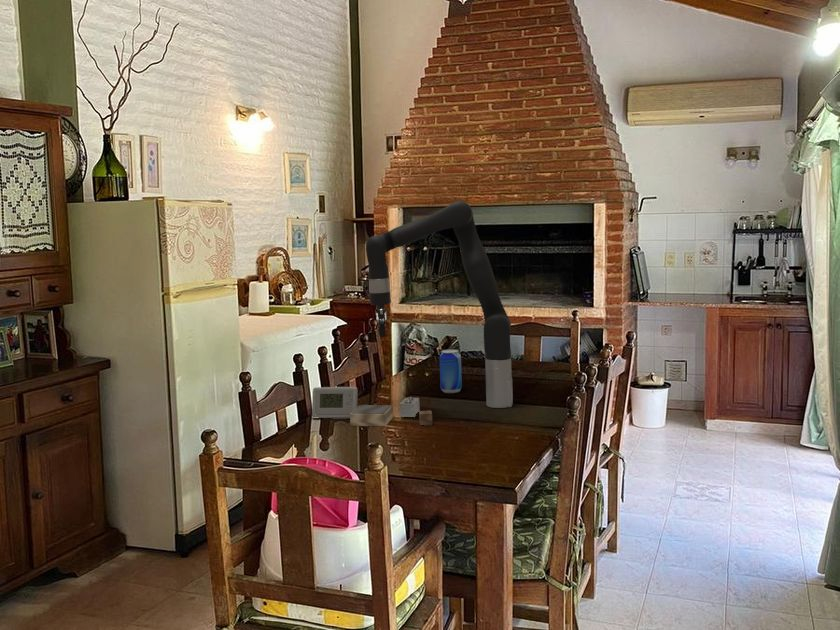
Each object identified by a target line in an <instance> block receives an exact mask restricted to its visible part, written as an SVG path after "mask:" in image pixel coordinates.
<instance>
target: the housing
mask: <svg viewBox="0 0 840 630" xmlns="http://www.w3.org/2000/svg"><path fill="white" fill-rule="evenodd" d="M419 411H421V410H420V398H419V397H414V396H408V397H405V398H404V399H402V401H400V403H399V418H401V417H414V418H415V417H416V416H417V415H418V414H419V413H418V412H419ZM417 413H418V414H417ZM416 414H417V415H416Z"/></svg>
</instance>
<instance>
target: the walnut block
mask: <svg viewBox="0 0 840 630" xmlns="http://www.w3.org/2000/svg"><path fill="white" fill-rule="evenodd" d="M418 414H419V417H418V418H419V425H424V426H433V413H432V410H420V411H419V413H418Z"/></svg>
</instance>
